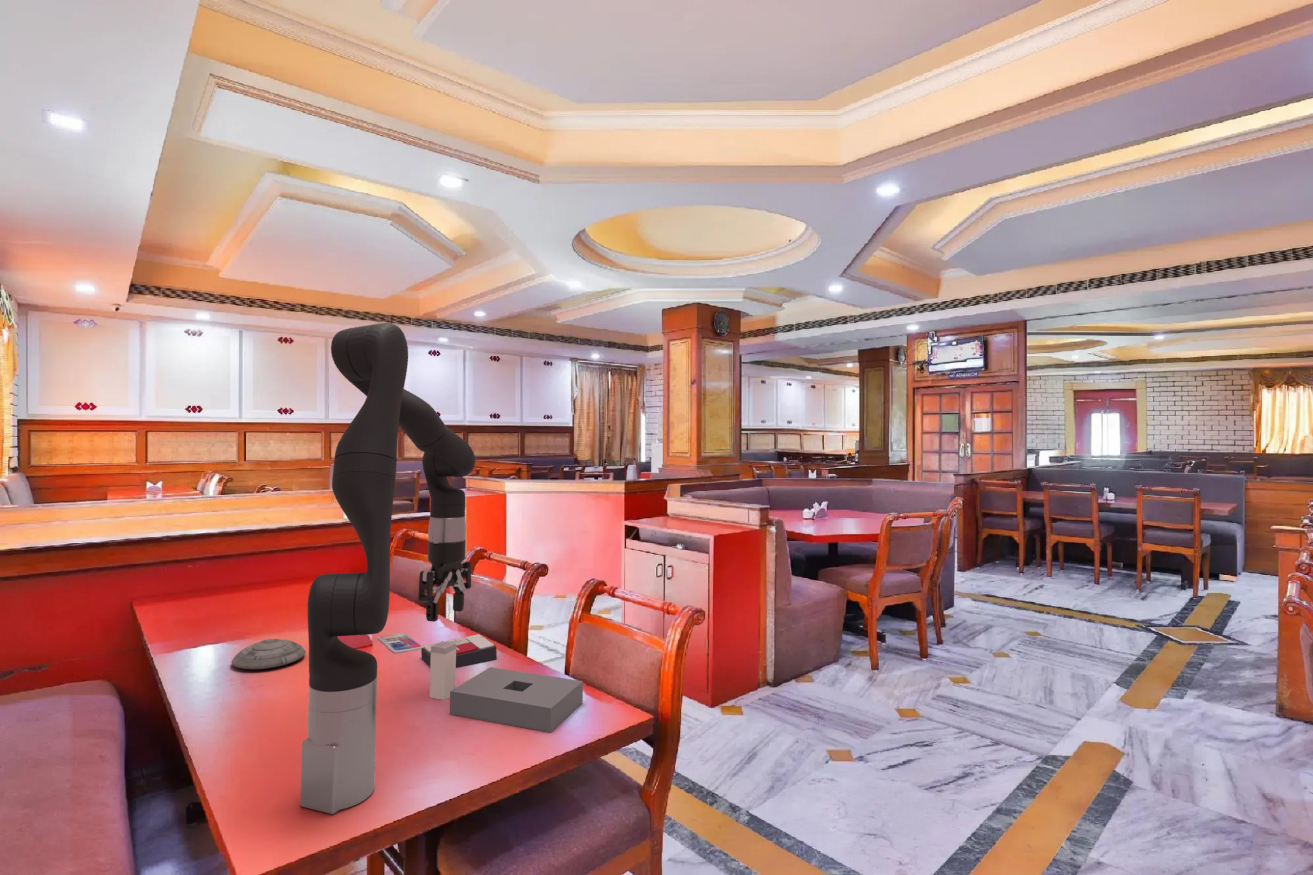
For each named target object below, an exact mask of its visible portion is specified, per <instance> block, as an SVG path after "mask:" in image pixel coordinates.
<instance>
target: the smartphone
mask: <svg viewBox="0 0 1313 875" xmlns="http://www.w3.org/2000/svg"><path fill="white" fill-rule="evenodd" d="M378 641H380V643H382V644H383V645H384V646H385V647H386V649H388V650H390V651H391V652H392V653H393V654H396V655H398V654H402V653H409V652H413V651H418V650H421V649H422V648H424V645H422V644H420V643H419V642H418V641H416V640H415V639H414V638H413V637H411V636H410V635H409V634H408V633H405V632H399V633H398V632H397V633H393V634H386V635H380V636H378Z"/></svg>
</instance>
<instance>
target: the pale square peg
mask: <svg viewBox="0 0 1313 875" xmlns="http://www.w3.org/2000/svg"><path fill="white" fill-rule="evenodd" d="M436 643H437V644H435V643H434V644H435V645H433V646H431V662H430V667H429V668H430V670H429V672H430V673H429V674H430V675H429V698H431V699H437V700H442V701H445V700H447V699H448V698H449V699H450V691H451V690H453V689H455V688H456V675H457V674H456V669H457V668H456V643H450V642H445V641H443V640H442V641H439V642H436Z"/></svg>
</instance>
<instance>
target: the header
mask: <svg viewBox="0 0 1313 875" xmlns="http://www.w3.org/2000/svg"><path fill="white" fill-rule="evenodd" d="M583 689H584V681H583V680H577V679H572V678H563V677H558V676H550V675H546V674H545V675H544V674H539V673H538V674H537V673H533V672H532V673H531V672H526V671H525V672H524V671H519V670H511V669H505V668H499V667H492V666H490V667H487V668H486V669H485V670H483V671H481V672H479V673H478V674H476V675H475V676H473V677H471V678H470V679H468V680H466V681H465V682H463V683H461V684H459V685H457V686H455V689H453V690H451V691H450V697H449V715H450V716H451V715H452V716H457V717H462V718H468V719H475V720H479V721H485V722H491V723H496V724H500V725H507V726H512V727H517V728H524V729H528V730H534V731H539V732H544V733H552V732H553V731H554V730H555V729H556V728H557V727H559V725H561V724H562V723H563V722H564V721H565V720H566V719H567V718H568V717H569V716H570V715H572V714H573V713H574V711H576V710H577V709H578V708H580V706H582V704H583V700H584V699H583V697H584V696H583V695H584V690H583Z"/></svg>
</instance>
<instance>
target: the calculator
mask: <svg viewBox="0 0 1313 875" xmlns="http://www.w3.org/2000/svg"><path fill="white" fill-rule="evenodd" d="M444 642H450V643H456V669H457V668H463V667H466V666H467V667H468V666H472V665H476V664H483V663H488V662H489V663H490V662H493V661H497V660H498V659H497V658H498V656H497V655H498V654H497V645H495V644H494V643H493V642H492V641H490V640H488V639H487V638H485V637H484V636H483V635H481V634H480V633H478V634H473V635H469V636H466V637H464V636H461V637H459V638H458V637H457V638H453V639H450V640H445V641H444ZM437 643H438V642H435V643H431V644H430V643H429V644H427V645H423V648H422V649H420V651H421V652H420V653H421V660H422V661H423V662H424V663H425V664H426V665H427V666H428V667H429V668H430V662H431V646H433V645H435V644H437Z"/></svg>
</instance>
